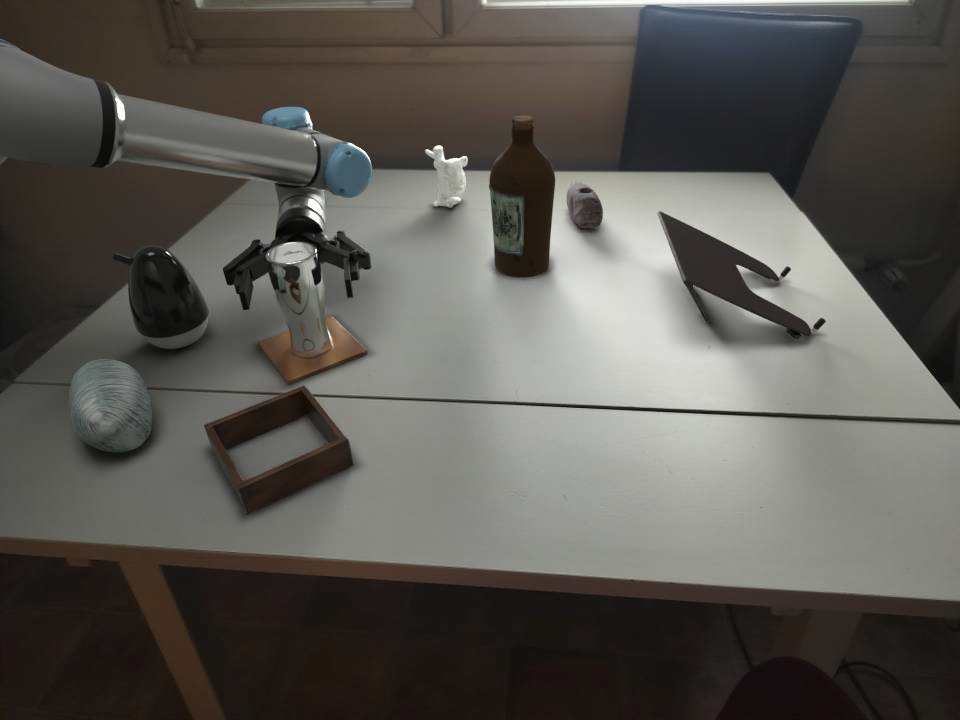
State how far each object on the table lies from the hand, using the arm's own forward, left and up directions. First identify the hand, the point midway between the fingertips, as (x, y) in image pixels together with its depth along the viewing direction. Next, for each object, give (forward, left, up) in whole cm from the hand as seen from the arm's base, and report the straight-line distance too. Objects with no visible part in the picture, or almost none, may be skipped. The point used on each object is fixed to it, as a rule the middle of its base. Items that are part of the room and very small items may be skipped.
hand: (296, 295), depth 88 cm
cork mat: (+1, +3, -11) cm, 11 cm away
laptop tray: (+58, -26, -11) cm, 65 cm away
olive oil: (+41, +5, -11) cm, 43 cm away
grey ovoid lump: (-25, +1, -11) cm, 28 cm away
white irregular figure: (+46, +36, -11) cm, 60 cm away
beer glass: (+1, +3, -11) cm, 11 cm away
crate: (-11, -16, -11) cm, 22 cm away
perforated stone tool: (+62, +13, -11) cm, 65 cm away
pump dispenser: (-14, +18, -11) cm, 25 cm away
